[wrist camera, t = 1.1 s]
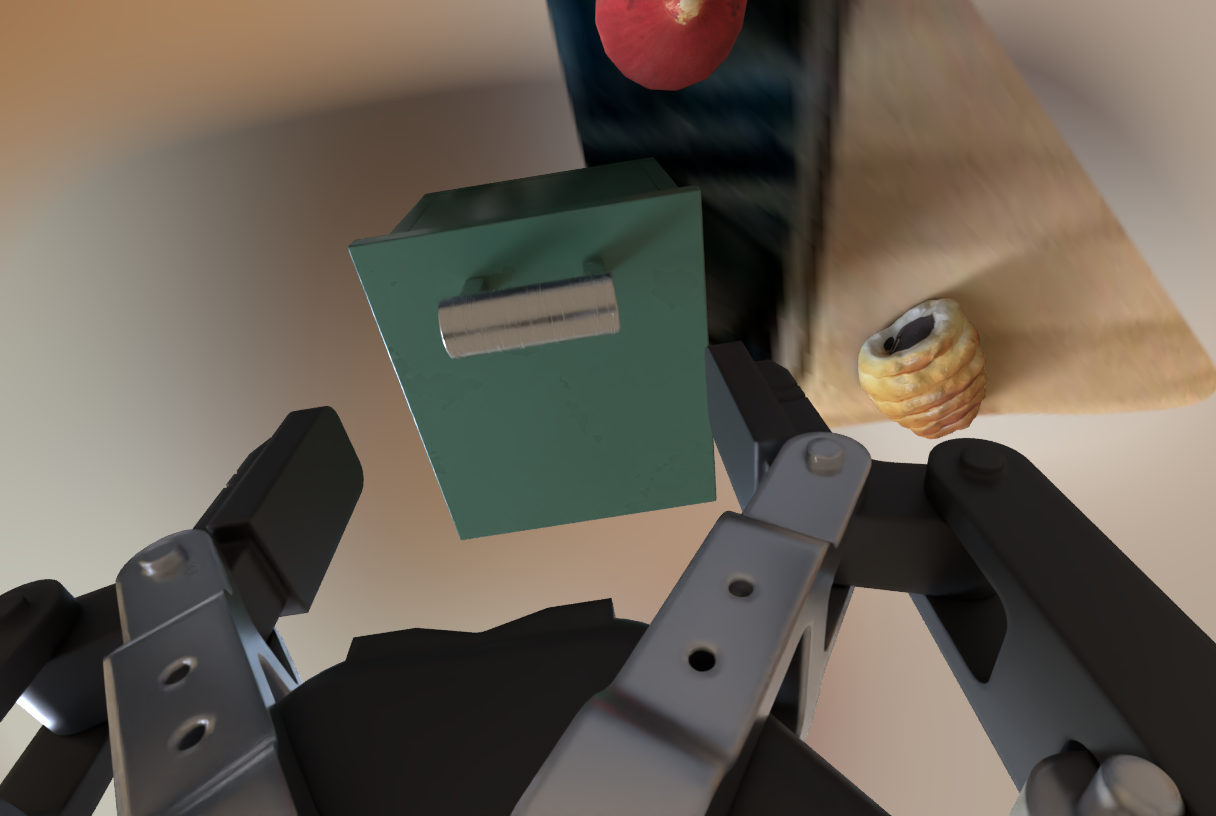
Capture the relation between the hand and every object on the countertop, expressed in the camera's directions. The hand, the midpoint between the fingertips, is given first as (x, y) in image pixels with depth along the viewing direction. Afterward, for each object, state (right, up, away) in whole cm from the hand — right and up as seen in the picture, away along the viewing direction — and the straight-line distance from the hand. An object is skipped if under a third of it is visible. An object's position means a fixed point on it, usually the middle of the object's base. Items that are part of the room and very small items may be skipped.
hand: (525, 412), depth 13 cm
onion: (+4, +18, +13) cm, 23 cm away
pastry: (+21, +3, +24) cm, 32 cm away
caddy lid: (0, +1, +10) cm, 10 cm away
